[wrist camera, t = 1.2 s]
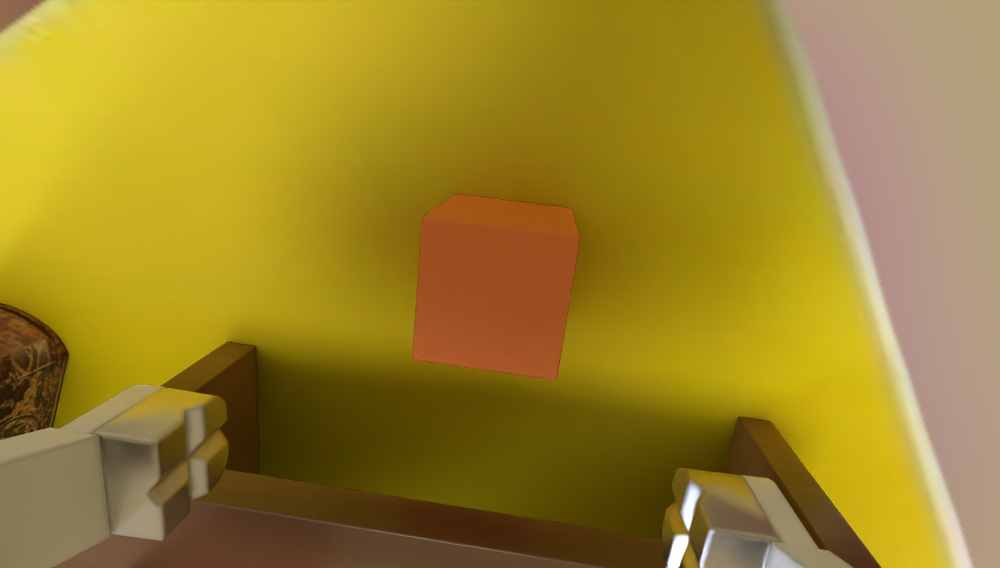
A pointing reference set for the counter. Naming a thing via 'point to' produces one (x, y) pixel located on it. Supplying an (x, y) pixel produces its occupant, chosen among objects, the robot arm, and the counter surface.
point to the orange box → (495, 285)
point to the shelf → (411, 510)
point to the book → (28, 373)
